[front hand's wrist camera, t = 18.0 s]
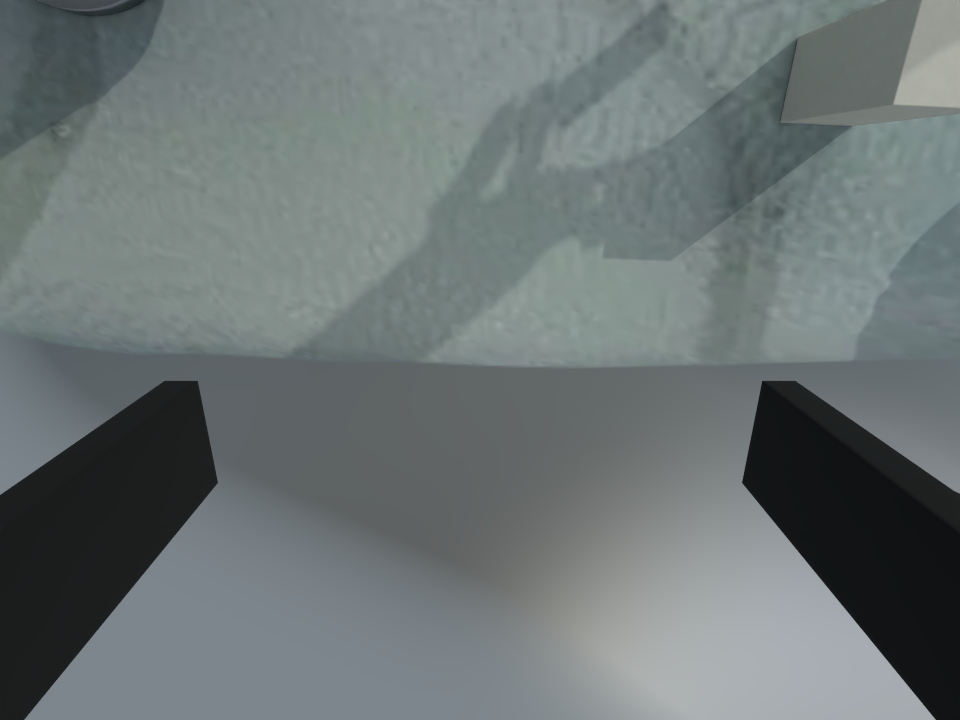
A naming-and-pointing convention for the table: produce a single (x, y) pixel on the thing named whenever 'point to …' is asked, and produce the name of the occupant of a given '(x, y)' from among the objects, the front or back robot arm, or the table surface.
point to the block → (878, 66)
